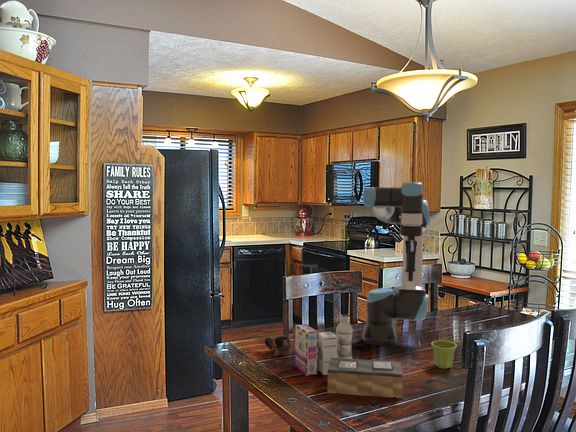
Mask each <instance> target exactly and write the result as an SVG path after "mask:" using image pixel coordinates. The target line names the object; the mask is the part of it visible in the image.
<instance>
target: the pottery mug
mask: <svg viewBox="0 0 576 432" xmlns="http://www.w3.org/2000/svg"><path fill="white" fill-rule="evenodd" d="M285 341H287V343H288V344H287V345H286V344H284V342H285ZM264 345H265V346H266V347H267V348H268V349H269V351H271V350H273V355H274V356H275V357H278V356H279V355H283V354H286V353H288V352H289V351H291V349H292V348H293V347H292V344H291V340H290V338H289V337H287V336H285V335H276V336H275V337H274V338H272V337H266V338H265V339H264Z"/></svg>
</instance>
